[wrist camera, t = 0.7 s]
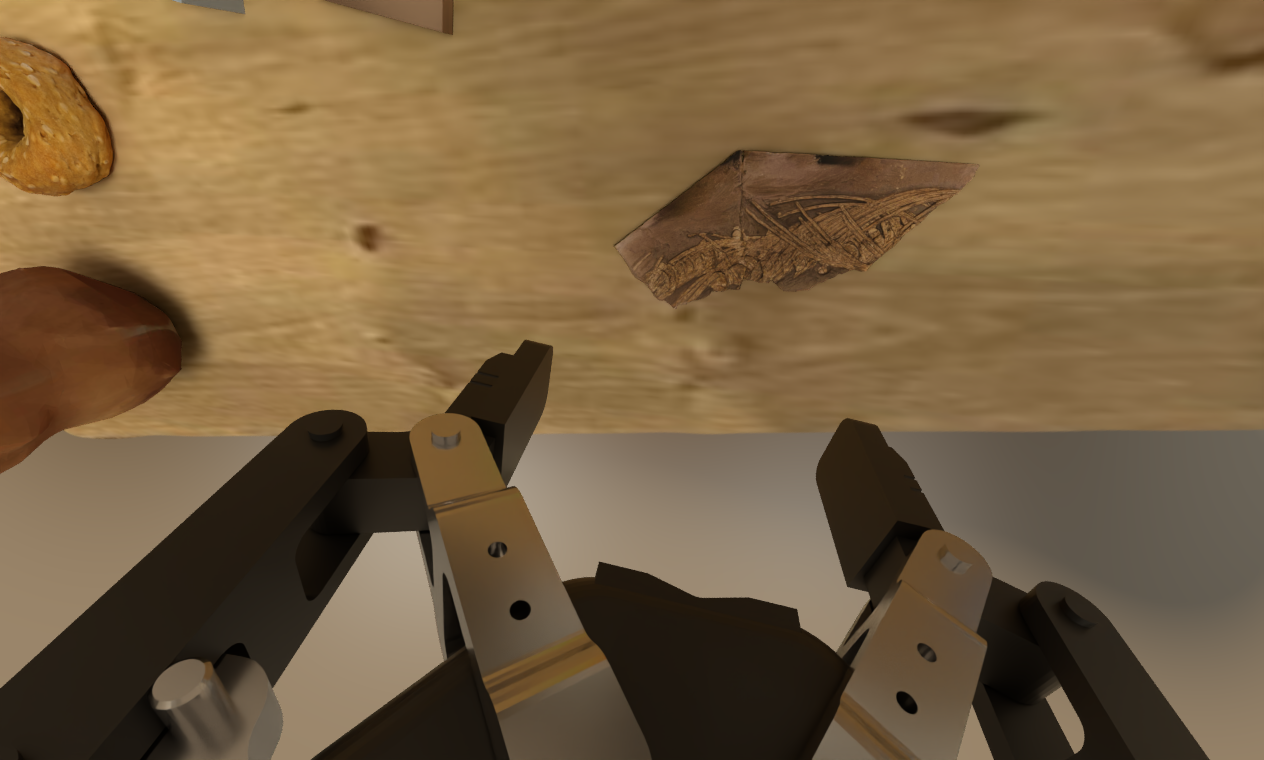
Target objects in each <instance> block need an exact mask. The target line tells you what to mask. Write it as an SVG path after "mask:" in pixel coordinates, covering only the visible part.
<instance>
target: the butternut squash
mask: <svg viewBox="0 0 1264 760" xmlns="http://www.w3.org/2000/svg"><path fill="white" fill-rule="evenodd" d="M181 348H182V341H181V339H180V337H179V335H178V333H177V332H176V330H175V328H174V326H173V324H172V322H171V321H170V319H169V317H168V316H167V315H166V314H165V313H164V312H162V311H161V310H160V309H158V308H156V307H155V306H153V305H152V304H150V303H149V302H147V300H146V299H144V298H142V297H141V296H139V295H137V294H135V293H133V292H130V291H127V290H124V289H121V288H118V287H115V286H112V285H109V284H107V283H104V282H101V281H98V280H95V279H92V278H89V277H86V276H83V275H80V274H77V273H74V272H71V271H67V270H64V269H60V268H55V267H46V266H40V267H32V268H23V269H22V268H18V269H16V270H11V271H8V272H4V273H1V274H0V474H1V473H2V472H4V471H6V470H8V469H10V468H12V467H13V466H15V465H17V464H19V463H20V462H22V461H23V460H24V459H25V458H26V457H27V456H28V455H30V454H31V453H32V452H33V451H34V450H35V449H36V448H37V447H38V446H39V445H41V444H42V443H43V442H44V441H45V440H46V439H48V438H49V437H51V436H53V435H54V434H56V433H58V432H60V431H62V430H64V429H68V428H73V427H77V426H81V425H84V424H89V423H93V422H97V421H101V420H105V419H109V418H112V417H114V416H117V415H119V414H121V413H124V412H126V411H128V410H130V409H133V408H135V407H136V406H138V405H140V404H143V403H145V402H146V401H147V400H149V399H150V398H152V397H153V396H154V395H156V394H157V393H158V392H159V391H161V390H162V389H163V388H164V387H165V386H166V385H167V384H168V383H169V382H170V381H171V379H172V378H173V377H174V376H175V375H176V374H177V373H178V372H179V371H180V370H181V369H182V368H181Z"/></svg>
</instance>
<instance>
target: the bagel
mask: <svg viewBox="0 0 1264 760" xmlns="http://www.w3.org/2000/svg"><path fill="white" fill-rule="evenodd" d="M112 160H113V150H112V146H111V138H110V135H109V131H108V130H107V127H106V126H105V122H104V120H103V119H102V117H101V116H100V114H99V113H98V112H97V111H96V110H95V108H94V107H93V106H92V104H91V103H90V101H89V100H88V98H87V96H86V93H85V91H84V90H83V89H82V87H81V86H80V85H79V83H78V82H77V81H76V80H75V79H74V77H73V76H72V72H71V70H70V69H69V67H68V66H67V65H66V64H65V63H63V62H62V61H61V60H59V59H58V58H56V57H54V56H53V55H51V54H50V53H47V52H45V51H43V50H40V49H38V48H36V47H34V46H32V45H30V44H26V43H23V42H20V41H15V40H13V39H10V38H4V37H0V177H2V178H3V179H4V180H6V181H8V182H10V183H12V184H13V185H15V186H16V187H18V188H19V189H21V190H23V191H26V192H28V193H32V194H33V193H35V194H43V195H51V196H61V195H68V194H70V193H71V192H73V191H74V190H78V189H83V188H86V187H88V186H91V185H93V183H96V182H98V181H100V180H101V179H102V178H105V177H107V175H108V174H109V171H110V167H111V165H112Z"/></svg>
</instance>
